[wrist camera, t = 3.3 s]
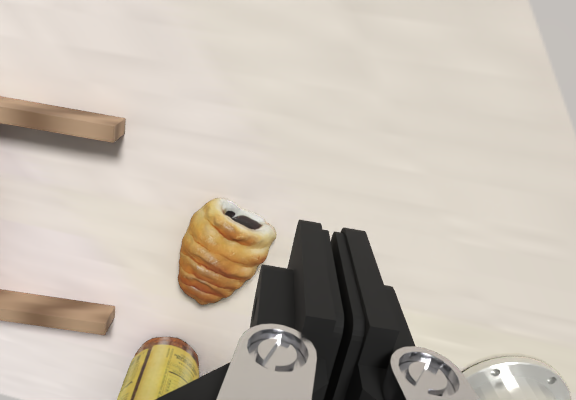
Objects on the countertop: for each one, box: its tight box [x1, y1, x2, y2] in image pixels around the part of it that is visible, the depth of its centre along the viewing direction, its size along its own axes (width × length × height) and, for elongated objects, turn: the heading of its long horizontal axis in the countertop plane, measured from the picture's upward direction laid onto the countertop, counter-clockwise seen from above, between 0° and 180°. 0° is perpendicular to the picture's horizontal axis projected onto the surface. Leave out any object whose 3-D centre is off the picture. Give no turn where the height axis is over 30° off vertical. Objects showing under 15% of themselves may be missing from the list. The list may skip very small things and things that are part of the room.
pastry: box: [178, 198, 276, 305], centre depth 39 cm, size 9×7×4 cm
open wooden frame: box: [0, 96, 125, 335], centre depth 38 cm, size 11×18×2 cm, turn 170°
